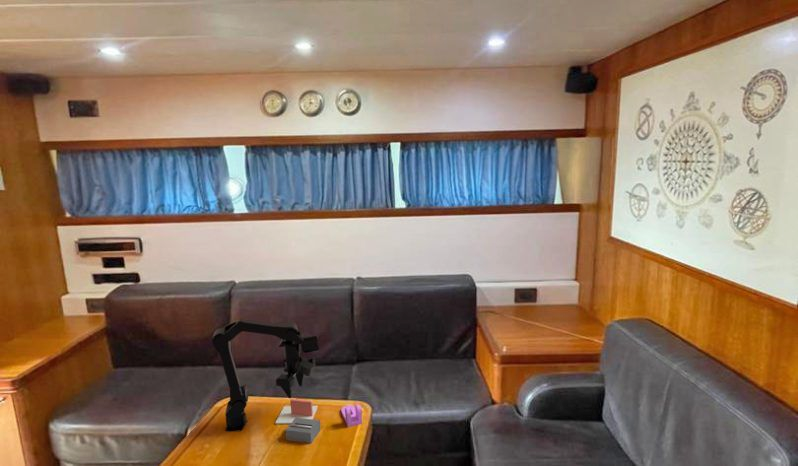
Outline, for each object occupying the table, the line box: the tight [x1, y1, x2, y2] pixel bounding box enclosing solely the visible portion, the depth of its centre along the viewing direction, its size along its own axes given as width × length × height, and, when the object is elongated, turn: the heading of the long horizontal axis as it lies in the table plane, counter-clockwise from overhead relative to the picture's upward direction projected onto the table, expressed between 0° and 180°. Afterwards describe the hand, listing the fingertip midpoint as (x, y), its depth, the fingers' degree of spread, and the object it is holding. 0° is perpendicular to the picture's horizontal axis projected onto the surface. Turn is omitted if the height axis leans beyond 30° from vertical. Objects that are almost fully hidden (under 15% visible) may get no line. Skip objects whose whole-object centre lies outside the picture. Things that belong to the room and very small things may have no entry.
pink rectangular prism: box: [289, 398, 313, 416], centre depth 178 cm, size 6×1×9 cm
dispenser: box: [285, 418, 321, 444], centre depth 166 cm, size 10×8×5 cm
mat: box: [274, 405, 319, 425], centre depth 179 cm, size 14×12×1 cm
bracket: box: [340, 404, 363, 428], centre depth 176 cm, size 13×6×7 cm, turn 21°
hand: (295, 391), depth 178 cm, fingers open, 9 cm apart
